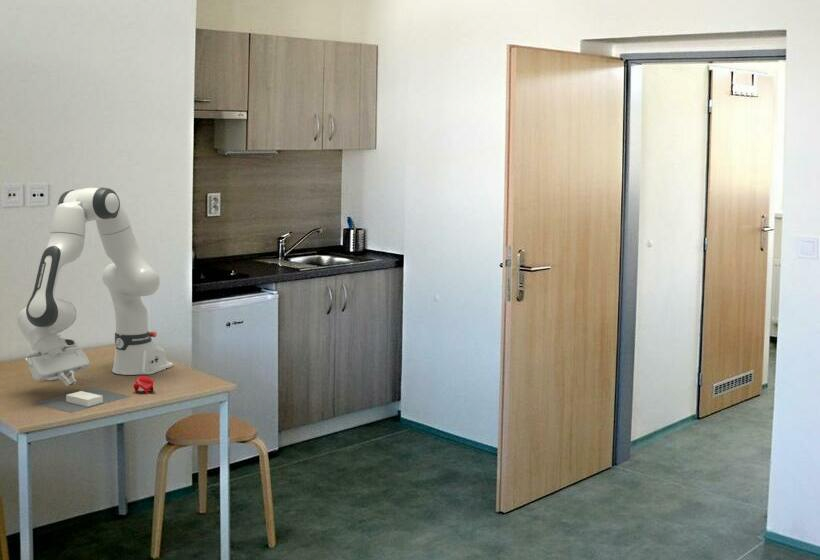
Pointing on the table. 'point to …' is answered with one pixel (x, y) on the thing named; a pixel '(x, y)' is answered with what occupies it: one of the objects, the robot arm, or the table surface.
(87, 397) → the tile
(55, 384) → the table surface
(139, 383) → the red rounded piece
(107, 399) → the mat
